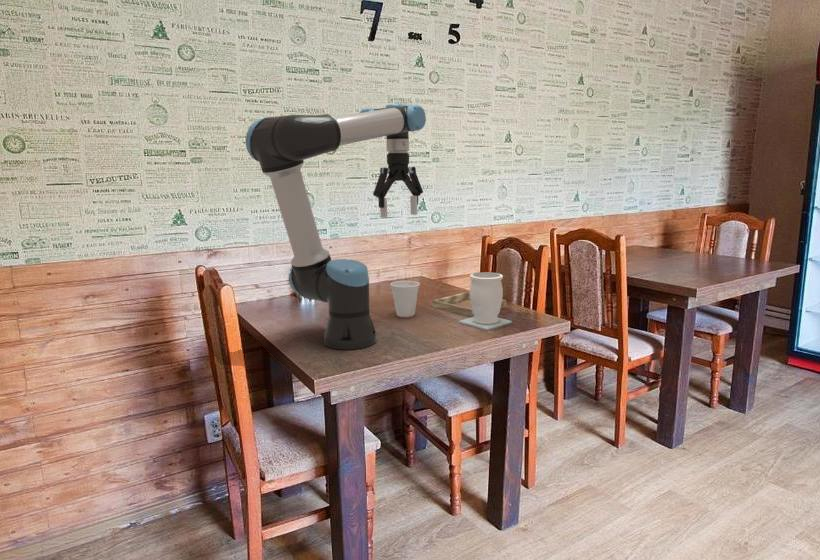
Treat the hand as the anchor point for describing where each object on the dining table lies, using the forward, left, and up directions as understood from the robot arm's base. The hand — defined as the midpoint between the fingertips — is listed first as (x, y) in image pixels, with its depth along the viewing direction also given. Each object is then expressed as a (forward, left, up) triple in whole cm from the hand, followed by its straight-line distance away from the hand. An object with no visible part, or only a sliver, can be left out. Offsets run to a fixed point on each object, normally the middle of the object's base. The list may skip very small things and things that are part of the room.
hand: (399, 216), depth 189 cm
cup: (-5, -8, -33) cm, 34 cm away
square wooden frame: (+18, -16, -33) cm, 41 cm away
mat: (+7, -33, -33) cm, 47 cm away
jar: (+7, -33, -32) cm, 47 cm away
